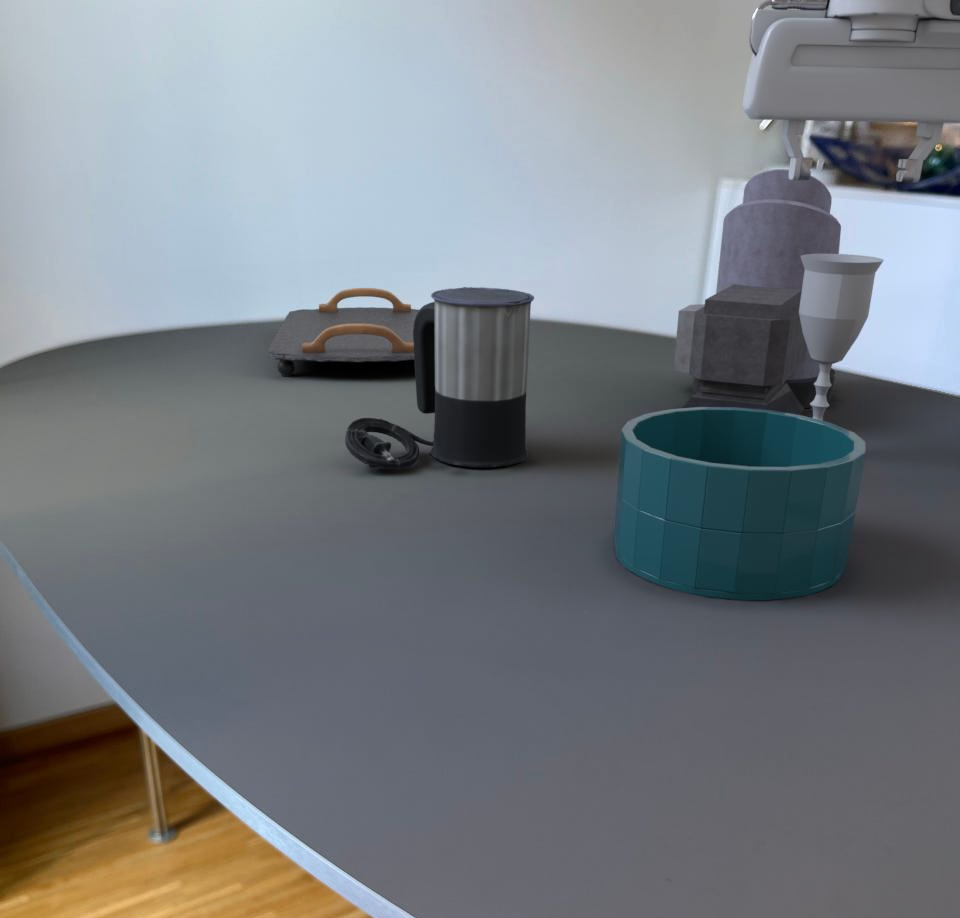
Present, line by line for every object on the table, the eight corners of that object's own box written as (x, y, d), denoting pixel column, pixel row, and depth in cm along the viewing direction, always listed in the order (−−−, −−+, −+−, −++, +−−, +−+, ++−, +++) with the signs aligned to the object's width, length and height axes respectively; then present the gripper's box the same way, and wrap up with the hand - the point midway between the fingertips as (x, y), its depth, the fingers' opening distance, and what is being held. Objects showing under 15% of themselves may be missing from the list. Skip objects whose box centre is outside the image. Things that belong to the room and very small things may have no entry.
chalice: (759, 452, 104) (784, 256, 96) (800, 440, 108) (828, 252, 100) (824, 469, 99) (856, 264, 91) (865, 456, 103) (899, 259, 95)
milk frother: (547, 453, 102) (553, 292, 96) (451, 494, 91) (451, 314, 84) (428, 430, 110) (427, 279, 103) (325, 466, 98) (316, 298, 91)
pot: (807, 518, 86) (824, 408, 82) (877, 601, 71) (902, 471, 67) (602, 516, 86) (610, 405, 82) (629, 599, 71) (640, 468, 67)
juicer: (713, 371, 137) (735, 163, 127) (842, 384, 131) (877, 167, 121) (645, 424, 113) (666, 171, 102) (799, 443, 107) (839, 177, 96)
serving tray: (291, 326, 163) (288, 284, 161) (442, 326, 165) (442, 284, 162) (262, 382, 129) (258, 329, 126) (454, 381, 130) (454, 329, 128)
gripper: (763, -12, 84) (741, 180, 90) (1023, -6, 84) (983, 185, 90) (745, -4, 89) (725, 176, 95) (988, 2, 89) (953, 181, 96)
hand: (852, 181), depth 93 cm, fingers open, 8 cm apart
